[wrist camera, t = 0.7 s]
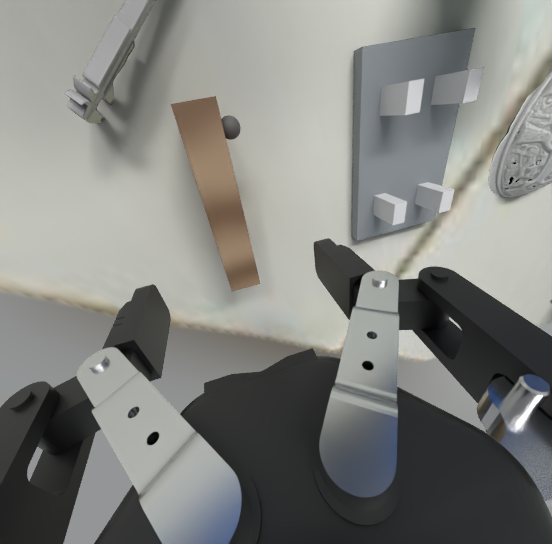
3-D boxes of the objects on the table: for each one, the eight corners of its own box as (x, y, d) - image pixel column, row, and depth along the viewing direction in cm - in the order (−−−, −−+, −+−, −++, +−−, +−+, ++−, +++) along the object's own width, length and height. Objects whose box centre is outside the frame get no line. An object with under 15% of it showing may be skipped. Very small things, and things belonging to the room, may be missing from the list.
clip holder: (354, 50, 24) (389, 34, 19) (462, 32, 25) (518, 13, 21) (351, 236, 35) (373, 254, 30) (426, 216, 36) (458, 230, 32)
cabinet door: (180, 108, 23) (170, 104, 16) (226, 100, 23) (235, 92, 17) (226, 255, 32) (232, 291, 25) (259, 247, 32) (273, 280, 26)
